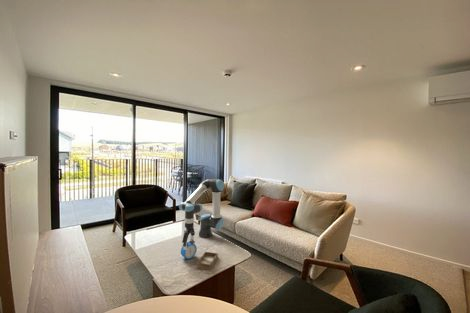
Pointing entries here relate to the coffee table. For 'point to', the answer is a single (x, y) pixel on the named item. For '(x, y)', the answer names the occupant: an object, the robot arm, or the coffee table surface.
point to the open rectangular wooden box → (207, 260)
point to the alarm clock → (189, 250)
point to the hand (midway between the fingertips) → (188, 246)
